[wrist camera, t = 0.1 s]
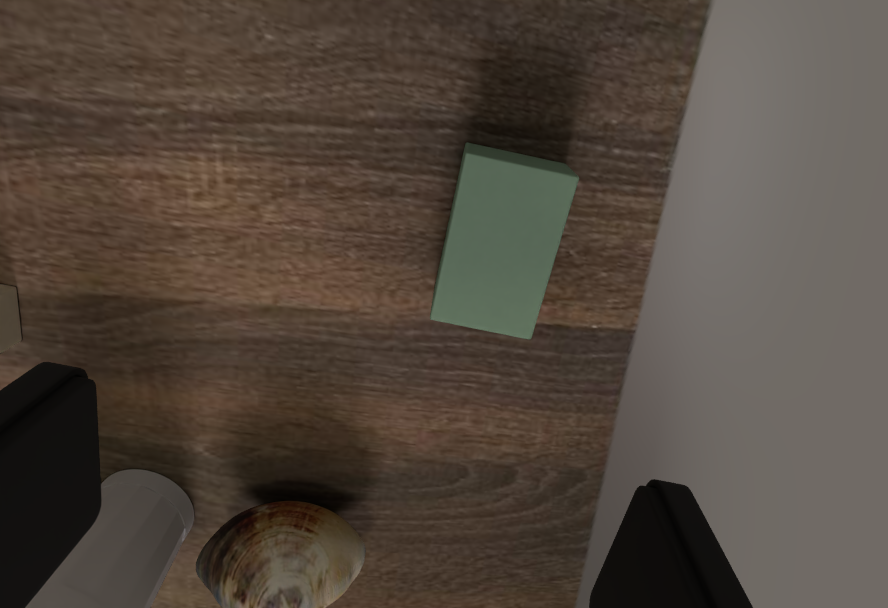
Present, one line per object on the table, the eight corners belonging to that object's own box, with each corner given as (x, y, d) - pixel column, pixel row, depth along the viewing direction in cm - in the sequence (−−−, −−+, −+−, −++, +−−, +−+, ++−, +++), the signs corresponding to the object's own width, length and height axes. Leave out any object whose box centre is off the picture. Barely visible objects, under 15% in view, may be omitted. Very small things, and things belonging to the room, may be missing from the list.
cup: (174, 448, 35) (37, 626, 24) (225, 542, 38) (125, 740, 26) (62, 471, 36) (-120, 652, 25) (120, 561, 39) (-19, 759, 28)
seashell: (372, 482, 35) (347, 593, 28) (372, 550, 37) (349, 669, 30) (223, 472, 35) (158, 580, 28) (232, 540, 37) (174, 656, 30)
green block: (465, 141, 27) (465, 151, 24) (566, 163, 27) (579, 176, 24) (433, 292, 30) (429, 320, 27) (524, 311, 30) (531, 340, 27)
